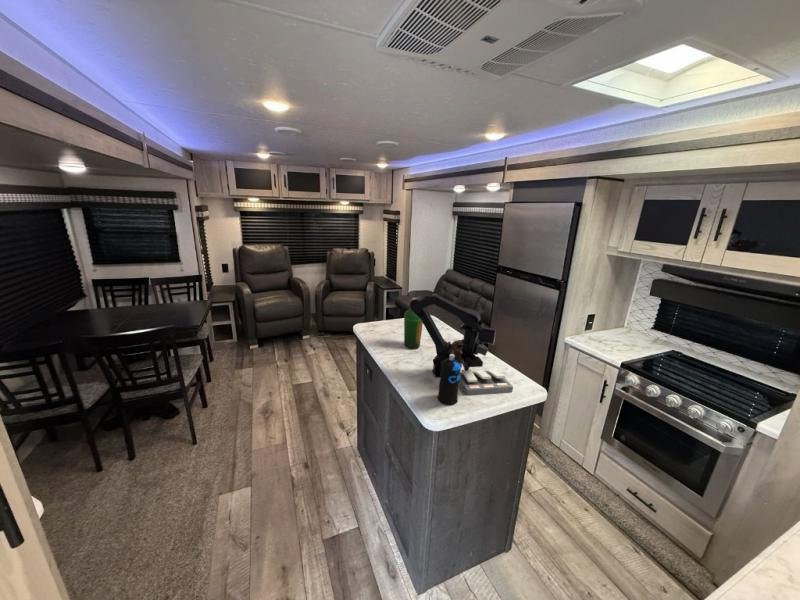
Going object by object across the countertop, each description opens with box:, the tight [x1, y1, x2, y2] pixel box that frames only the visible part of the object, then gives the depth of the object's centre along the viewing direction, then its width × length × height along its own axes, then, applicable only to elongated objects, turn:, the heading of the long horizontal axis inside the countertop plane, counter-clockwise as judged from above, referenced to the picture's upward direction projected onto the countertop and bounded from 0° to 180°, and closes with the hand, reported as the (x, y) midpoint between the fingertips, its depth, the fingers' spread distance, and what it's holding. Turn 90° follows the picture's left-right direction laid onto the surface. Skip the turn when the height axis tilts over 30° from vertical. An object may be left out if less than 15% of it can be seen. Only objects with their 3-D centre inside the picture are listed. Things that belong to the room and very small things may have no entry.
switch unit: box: [459, 369, 514, 396], centre depth 138 cm, size 21×14×3 cm, turn 100°
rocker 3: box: [487, 369, 506, 379], centre depth 139 cm, size 4×8×2 cm, turn 10°
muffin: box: [451, 339, 462, 364], centre depth 159 cm, size 12×11×10 cm
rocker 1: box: [461, 368, 477, 382], centre depth 137 cm, size 4×8×2 cm, turn 10°
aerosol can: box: [437, 354, 463, 406], centre depth 123 cm, size 8×8×20 cm
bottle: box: [403, 297, 424, 350], centre depth 168 cm, size 11×11×28 cm
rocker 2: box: [474, 370, 491, 379], centre depth 138 cm, size 4×8×2 cm, turn 10°
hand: (466, 370), depth 140 cm, fingers closed
